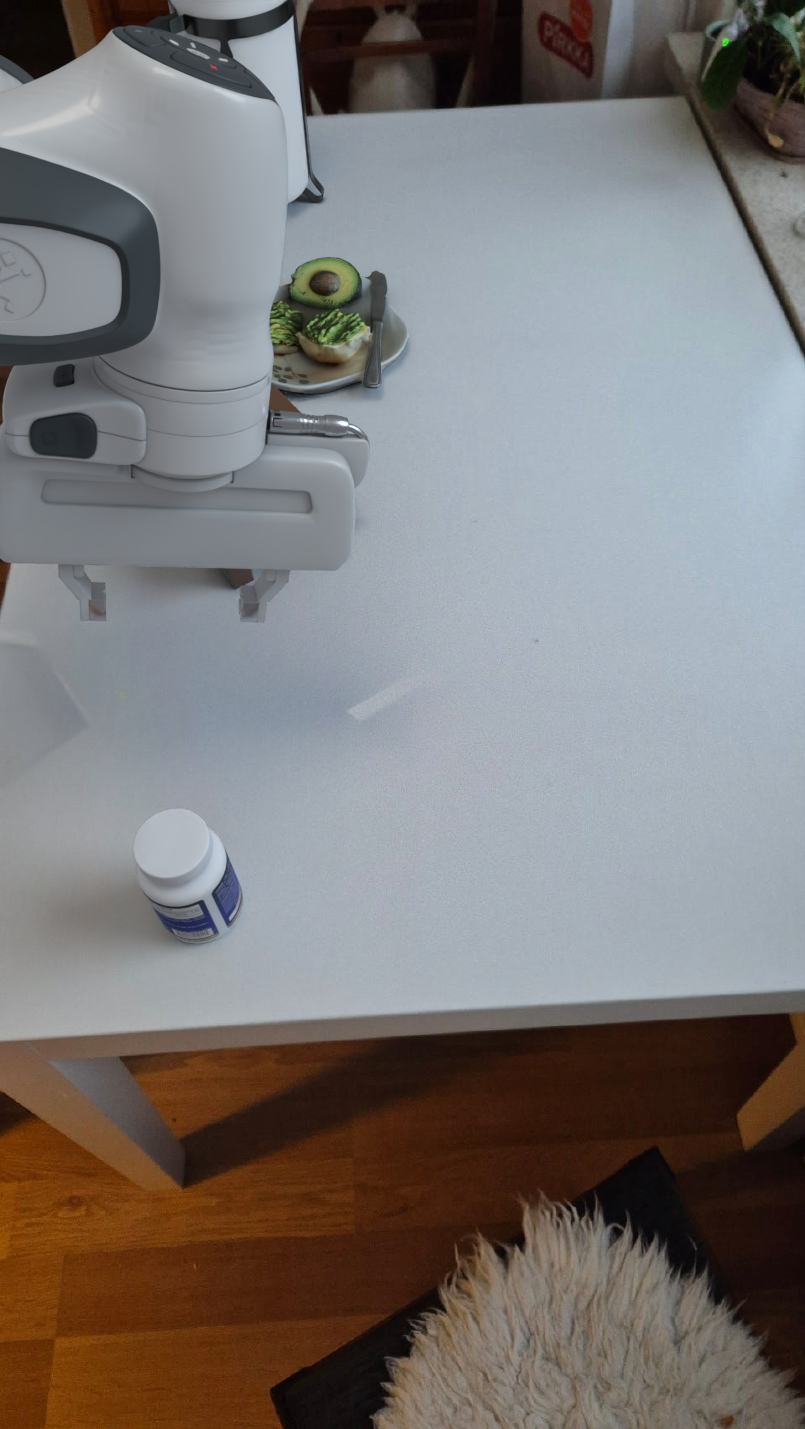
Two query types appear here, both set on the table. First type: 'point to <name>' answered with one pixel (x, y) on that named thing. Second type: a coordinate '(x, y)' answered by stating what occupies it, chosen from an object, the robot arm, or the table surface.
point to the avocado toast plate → (333, 328)
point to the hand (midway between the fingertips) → (174, 616)
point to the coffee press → (257, 62)
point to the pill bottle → (187, 876)
